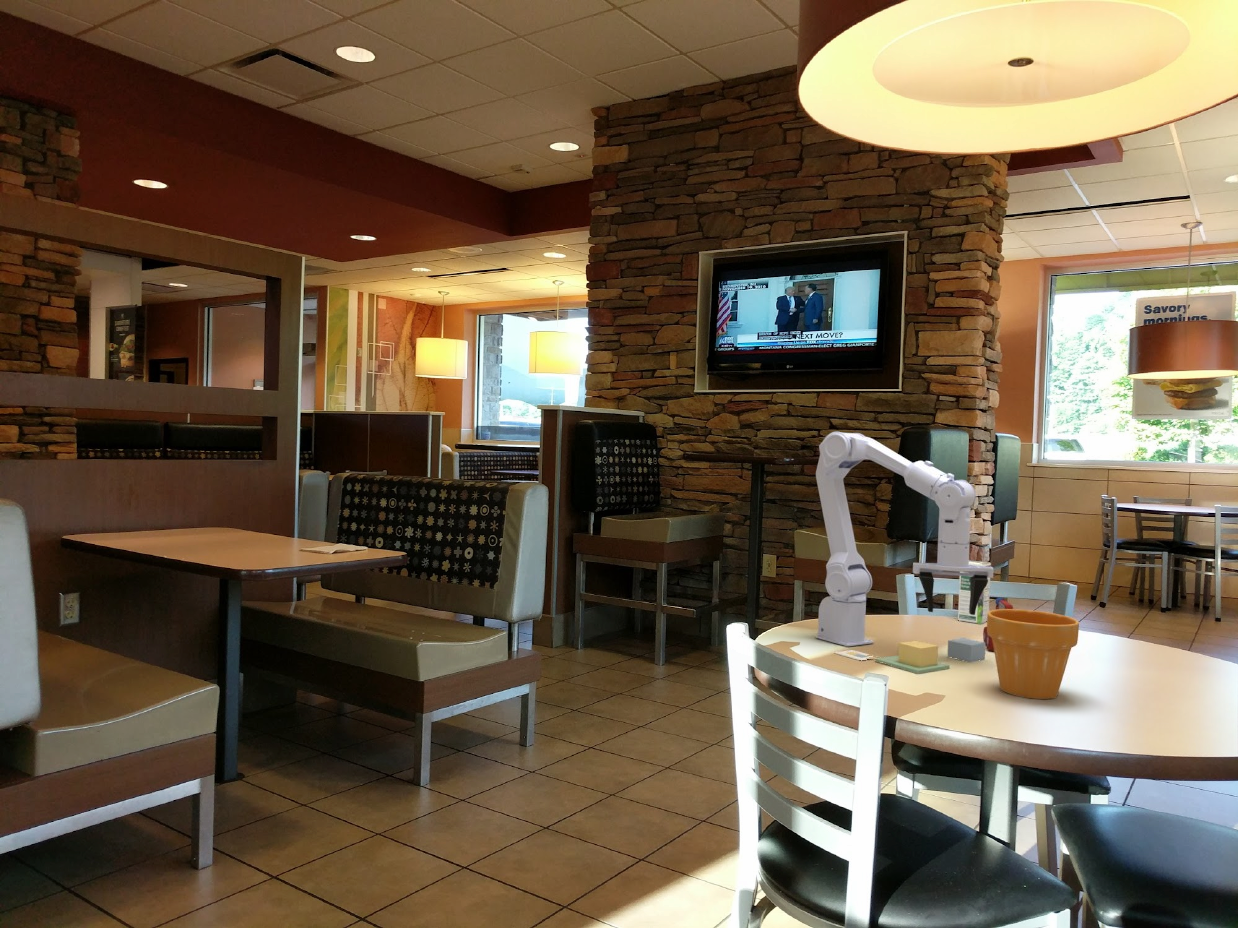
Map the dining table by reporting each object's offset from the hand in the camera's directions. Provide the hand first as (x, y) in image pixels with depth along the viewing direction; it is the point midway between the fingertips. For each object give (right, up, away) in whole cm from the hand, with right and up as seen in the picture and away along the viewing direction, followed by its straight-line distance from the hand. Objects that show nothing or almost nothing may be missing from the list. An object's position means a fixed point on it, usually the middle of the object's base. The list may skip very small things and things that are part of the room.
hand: (951, 612), depth 173 cm
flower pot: (+6, -10, -21) cm, 24 cm away
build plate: (-9, -9, -4) cm, 13 cm away
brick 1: (-8, -9, -5) cm, 13 cm away
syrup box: (+21, -9, +43) cm, 49 cm away
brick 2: (+4, -10, +3) cm, 11 cm away
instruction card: (-18, -9, +2) cm, 20 cm away
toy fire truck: (+16, -10, +13) cm, 23 cm away
